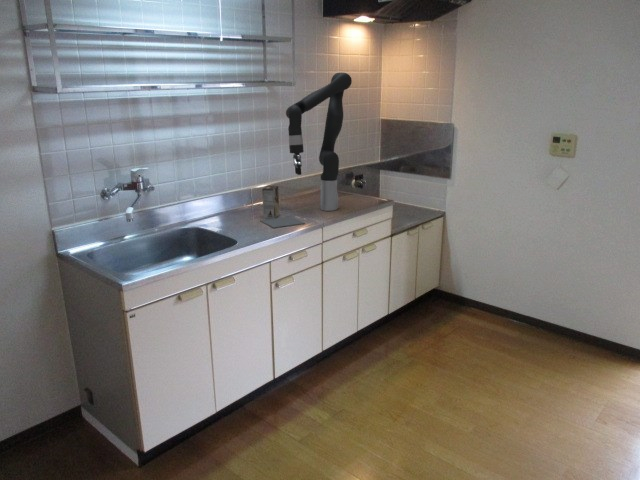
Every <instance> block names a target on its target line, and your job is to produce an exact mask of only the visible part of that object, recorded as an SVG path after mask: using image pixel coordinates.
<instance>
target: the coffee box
mask: <svg viewBox="0 0 640 480" xmlns="http://www.w3.org/2000/svg"><path fill="white" fill-rule="evenodd" d="M279 204H280V201H279V186H278V185H277V186H275V185H267V186H265V187H264V188H262V215H263V216H262V217H263V219H273V218H278V217H279V215H280V208H279V207H280V206H279Z"/></svg>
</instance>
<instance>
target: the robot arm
mask: <svg viewBox="0 0 640 480" xmlns="http://www.w3.org/2000/svg"><path fill="white" fill-rule="evenodd" d="M352 82H353V81H352V77H351V75H350V74H349V73H347V72H336V73H334V74H333V75H332V77H331V80H330V82H329V83H328V84H326V85H325V86H323V87H321V88H319V89H317V90H315V91H313V92H311V93H309V94H308V95H306V96H305V97H303V98H302V99H300V100H299V101H297V102H296V103H293V104H292V105H290V106H288V107H287V109H286V111H285V117H287V118H288V120H289V121H288V122H289V124H288V127H287V129H288V145H289V146H288V147H289V153H290V154H293V157H292V158H293V167H294V172H295V174H297V176H300V175H302V166H303V165H302V155H301V154H302V153H304V152H305V151H304V139H303V131H302V117H303V116H302V115H303V114H304V113H306V112H308V111H311V110H312V109H314V108H316V106H319V105H320V104H322V103H323V102H324V101H326V100H328V99H329V101H328V106H327V113H326V119H325V125H324V131H323V138H322V139H323V140H322V144H321V148H320V152H319V156H318V161H319V163H320V165H321V166H322V167H323V168H322V173H321V174H320V210H321V211H326V212H332V211H333V212H334V211H336V210H338V209H339V192H338V175H339V168H340V158H339V155H338V154H337V153H336V152H335V146H336V142H337V139H338V137H339V135H340V133H341V130H342V128H343V121H344V107H343V99H344V98H343V97H344V92H345V91H346V90H347V89H349V88H351V85H352Z"/></svg>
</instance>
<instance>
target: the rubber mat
mask: <svg viewBox="0 0 640 480" xmlns="http://www.w3.org/2000/svg"><path fill="white" fill-rule="evenodd" d="M259 220H260V223H263V224H265V225H266V226H268V227H270V228H272V229H280V228H286V227H293V226H295V227H296V226H301V224H302V225H306V223H305V222H304V221H302V220H300V219H298V218H296V217H294V216H291V215H289V216H281V217H276V218H273V219H266V218H264V219H259Z"/></svg>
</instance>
